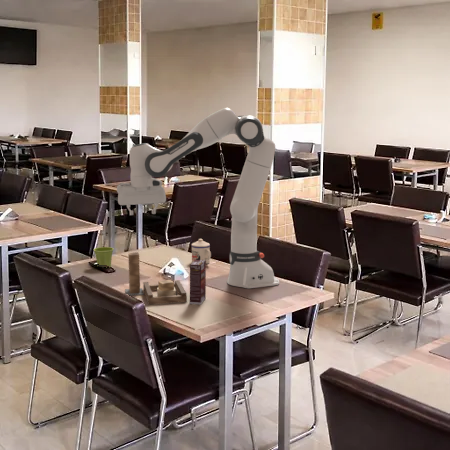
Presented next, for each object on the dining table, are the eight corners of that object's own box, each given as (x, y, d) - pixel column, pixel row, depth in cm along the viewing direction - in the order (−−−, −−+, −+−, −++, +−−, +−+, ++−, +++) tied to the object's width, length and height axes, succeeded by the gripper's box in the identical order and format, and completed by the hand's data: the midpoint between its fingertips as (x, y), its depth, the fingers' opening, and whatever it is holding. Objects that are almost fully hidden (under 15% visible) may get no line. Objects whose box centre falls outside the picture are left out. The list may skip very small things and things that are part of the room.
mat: (142, 289, 277) (142, 288, 277) (143, 294, 269) (143, 293, 269) (125, 290, 275) (125, 289, 275) (126, 295, 268) (126, 294, 268)
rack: (179, 287, 279) (179, 279, 279) (186, 302, 260) (186, 293, 259) (143, 289, 276) (143, 281, 275) (148, 304, 257) (148, 295, 256)
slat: (138, 289, 275) (138, 252, 272) (139, 292, 270) (139, 254, 267) (129, 290, 274) (128, 252, 271) (130, 293, 270) (129, 255, 267)
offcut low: (174, 296, 268) (174, 286, 267) (175, 300, 263) (175, 290, 262) (157, 297, 267) (157, 287, 266) (158, 300, 262) (158, 291, 261)
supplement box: (201, 305, 256) (201, 265, 253) (189, 304, 257) (189, 264, 254) (206, 298, 265) (206, 259, 262) (194, 297, 266) (194, 259, 263)
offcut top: (169, 286, 267) (169, 279, 266) (174, 289, 264) (173, 282, 263) (158, 288, 265) (158, 281, 264) (162, 291, 261) (162, 283, 261)
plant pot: (90, 268, 310) (90, 250, 308) (99, 263, 319) (98, 246, 317) (109, 270, 308) (108, 251, 306) (117, 265, 317) (116, 247, 315)
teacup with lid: (187, 262, 323) (187, 238, 321) (202, 259, 329) (202, 236, 326) (202, 266, 314) (202, 242, 312) (217, 263, 320) (217, 240, 317)
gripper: (116, 184, 274) (118, 216, 277) (165, 181, 279) (167, 214, 281) (115, 182, 280) (117, 214, 283) (164, 180, 285) (165, 211, 287)
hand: (142, 214), depth 282 cm, fingers open, 8 cm apart
